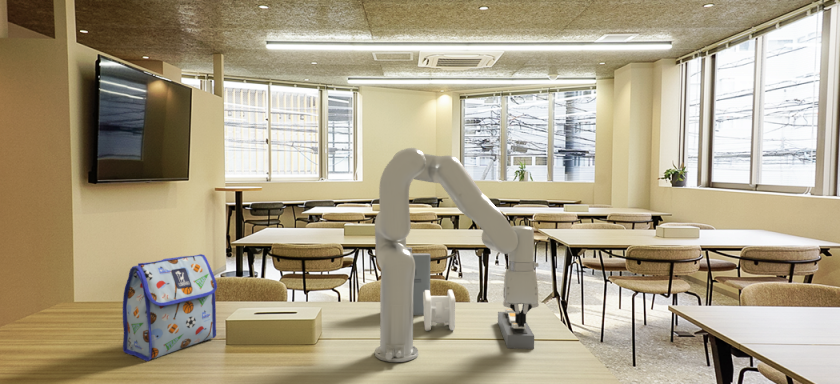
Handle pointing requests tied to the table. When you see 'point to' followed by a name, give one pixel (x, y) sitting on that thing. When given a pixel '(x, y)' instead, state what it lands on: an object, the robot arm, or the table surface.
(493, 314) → the table surface
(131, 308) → the lunch bag
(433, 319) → the cable organizer
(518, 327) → the plate
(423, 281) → the blue-grey tall flat block
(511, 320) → the middle rocker
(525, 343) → the power strip
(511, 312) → the far rocker
